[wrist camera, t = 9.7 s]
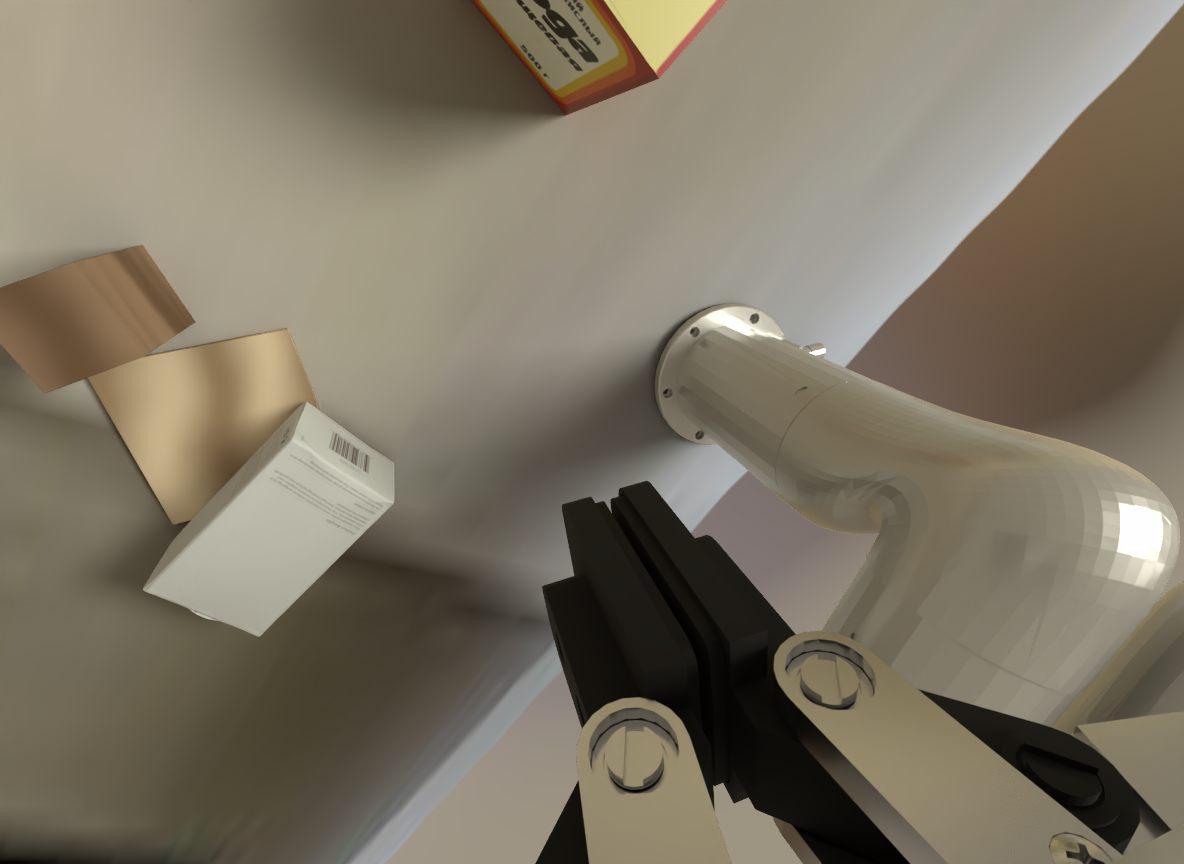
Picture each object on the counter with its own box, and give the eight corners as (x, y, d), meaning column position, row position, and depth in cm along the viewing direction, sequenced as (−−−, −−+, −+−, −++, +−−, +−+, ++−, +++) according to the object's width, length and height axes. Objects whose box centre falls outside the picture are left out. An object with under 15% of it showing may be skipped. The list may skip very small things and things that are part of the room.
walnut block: (142, 245, 33) (73, 262, 26) (195, 321, 36) (144, 356, 29) (56, 274, 33) (-38, 300, 26) (116, 351, 35) (44, 393, 28)
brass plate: (288, 327, 37) (286, 329, 37) (346, 478, 43) (345, 481, 42) (85, 367, 35) (82, 368, 34) (174, 521, 40) (172, 524, 40)
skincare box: (306, 398, 39) (166, 533, 40) (291, 438, 34) (132, 591, 35) (401, 465, 43) (271, 585, 45) (400, 510, 38) (253, 643, 40)
